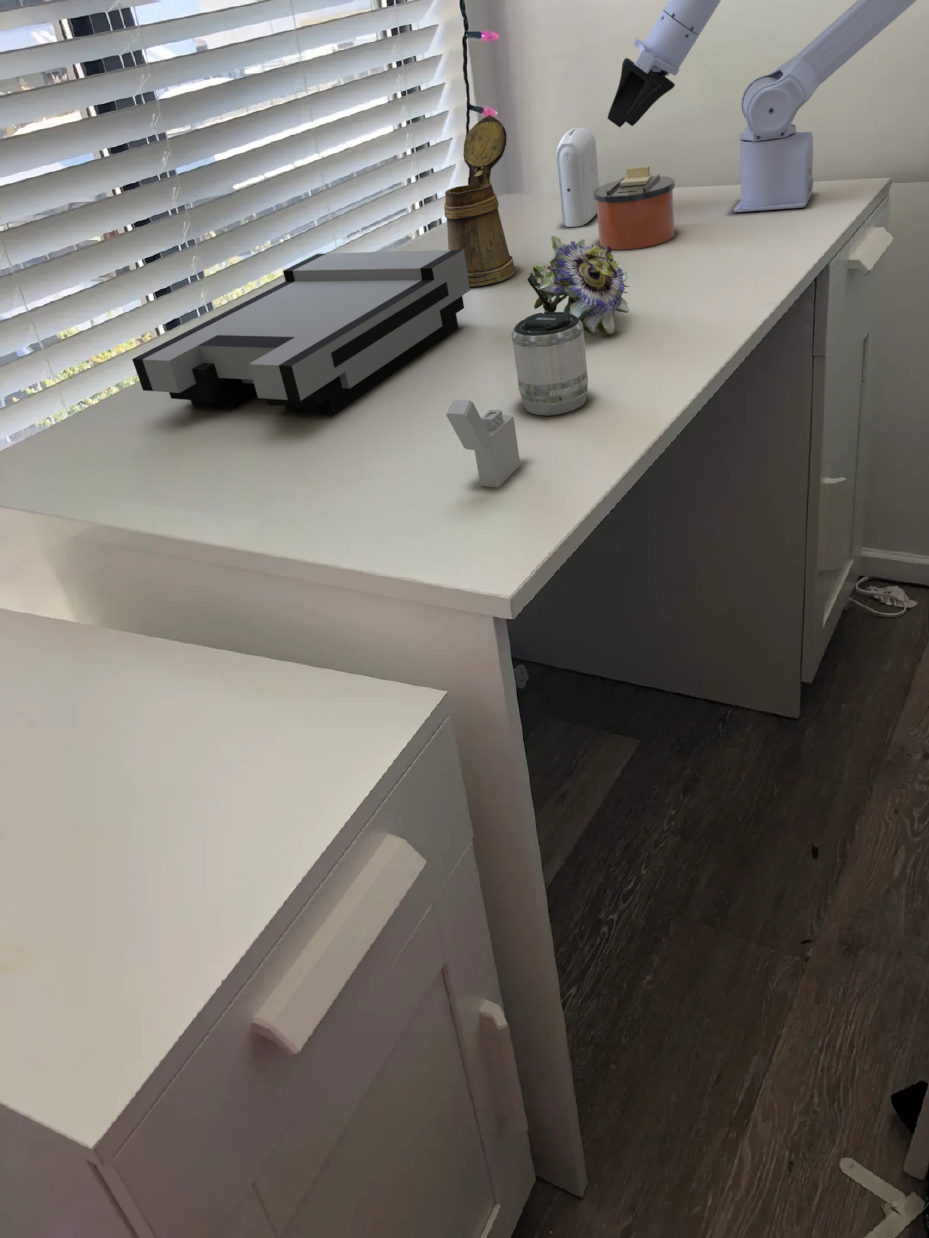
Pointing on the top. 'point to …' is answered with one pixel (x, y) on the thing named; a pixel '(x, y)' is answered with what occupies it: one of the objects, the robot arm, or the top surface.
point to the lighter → (487, 440)
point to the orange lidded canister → (635, 213)
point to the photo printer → (577, 176)
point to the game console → (316, 333)
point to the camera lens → (551, 362)
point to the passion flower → (582, 284)
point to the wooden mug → (480, 208)
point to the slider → (637, 176)
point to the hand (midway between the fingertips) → (620, 122)
